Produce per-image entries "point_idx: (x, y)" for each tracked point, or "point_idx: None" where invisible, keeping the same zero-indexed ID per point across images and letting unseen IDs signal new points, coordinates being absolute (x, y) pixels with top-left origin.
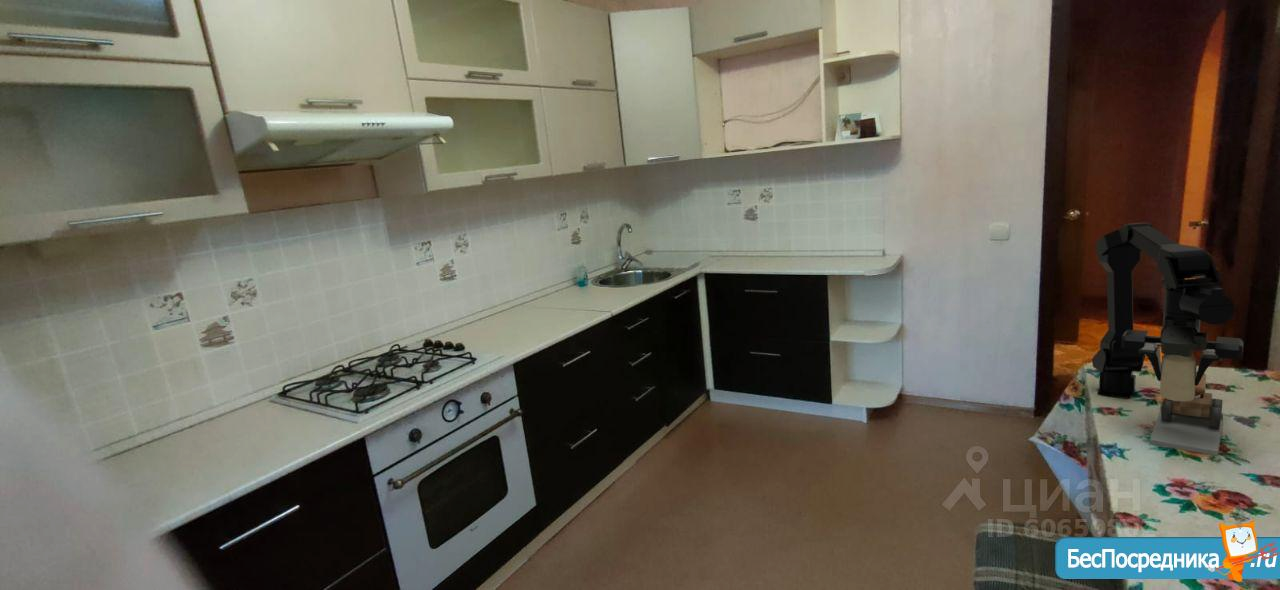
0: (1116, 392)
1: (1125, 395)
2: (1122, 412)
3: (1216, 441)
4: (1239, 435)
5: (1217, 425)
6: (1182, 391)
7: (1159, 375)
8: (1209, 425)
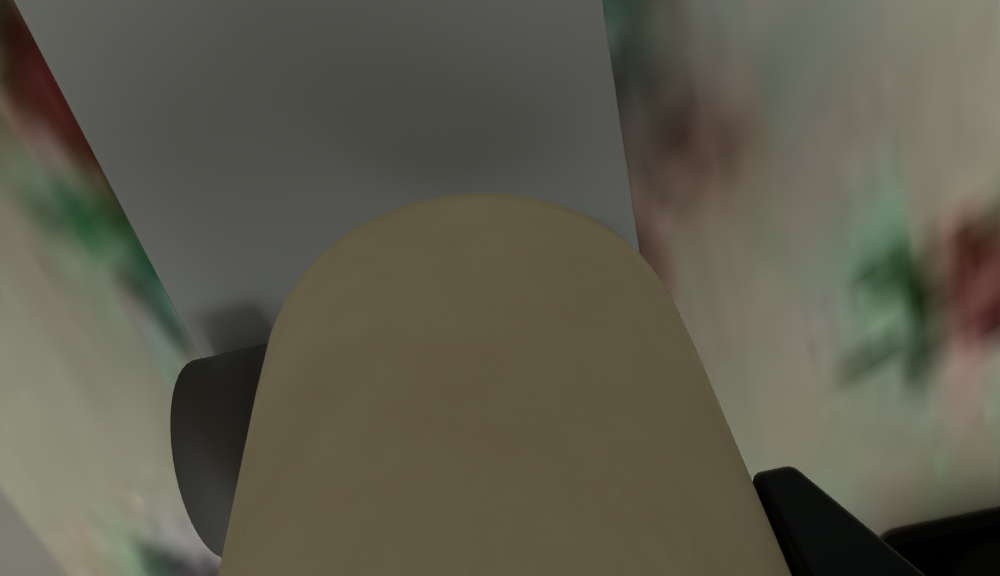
0: (981, 551)
1: (916, 553)
2: (896, 309)
3: (99, 117)
4: (123, 396)
5: (200, 360)
6: (335, 341)
7: (817, 553)
8: (260, 345)
